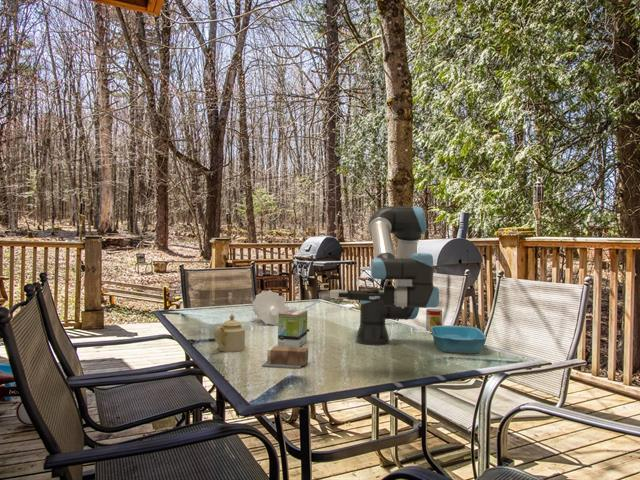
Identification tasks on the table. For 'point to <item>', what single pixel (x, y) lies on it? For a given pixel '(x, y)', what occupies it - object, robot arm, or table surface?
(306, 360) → the walnut block
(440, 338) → the casserole dish
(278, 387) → the table surface
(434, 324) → the canned food
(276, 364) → the mat
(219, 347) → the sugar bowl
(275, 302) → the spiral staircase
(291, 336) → the tea box
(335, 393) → the table surface
